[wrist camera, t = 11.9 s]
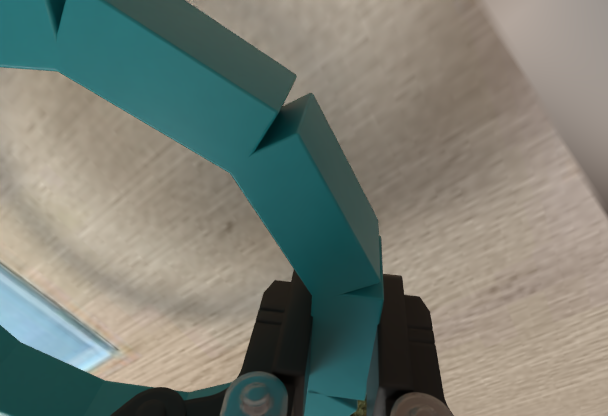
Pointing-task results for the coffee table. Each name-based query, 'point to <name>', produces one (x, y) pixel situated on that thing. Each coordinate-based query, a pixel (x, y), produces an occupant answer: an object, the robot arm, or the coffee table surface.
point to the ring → (227, 155)
